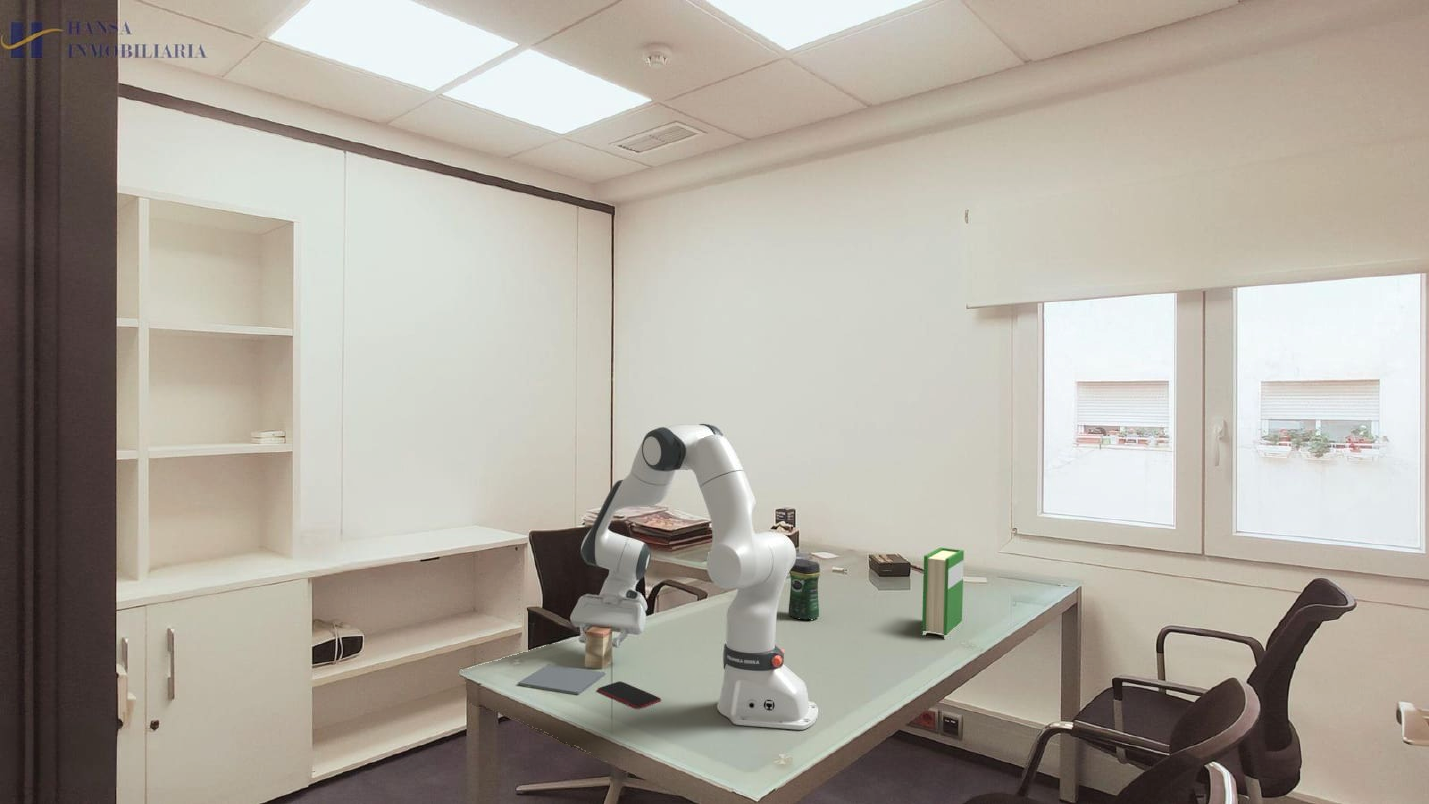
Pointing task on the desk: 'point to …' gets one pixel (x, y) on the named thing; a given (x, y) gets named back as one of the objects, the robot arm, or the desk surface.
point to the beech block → (598, 647)
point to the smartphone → (629, 694)
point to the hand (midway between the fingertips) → (598, 644)
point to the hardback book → (942, 590)
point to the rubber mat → (562, 679)
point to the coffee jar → (804, 589)
